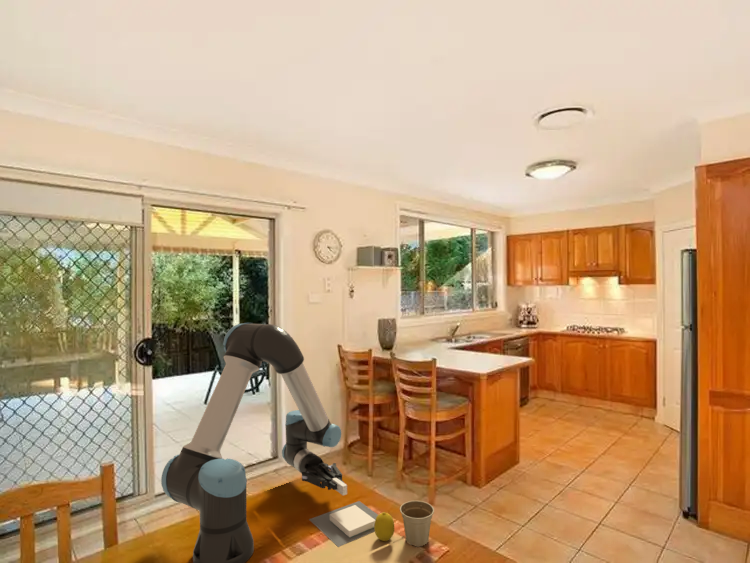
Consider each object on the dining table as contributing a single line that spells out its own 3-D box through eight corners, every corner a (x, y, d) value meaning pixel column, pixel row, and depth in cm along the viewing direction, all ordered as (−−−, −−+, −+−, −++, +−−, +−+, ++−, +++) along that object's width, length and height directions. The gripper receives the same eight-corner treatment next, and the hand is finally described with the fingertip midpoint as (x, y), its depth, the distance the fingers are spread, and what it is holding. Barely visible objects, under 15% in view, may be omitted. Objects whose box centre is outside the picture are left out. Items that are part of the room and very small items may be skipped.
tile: (329, 521, 129) (349, 538, 120) (329, 514, 129) (349, 531, 120) (355, 511, 134) (375, 527, 125) (355, 504, 134) (375, 520, 125)
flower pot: (441, 540, 120) (441, 509, 120) (419, 555, 113) (418, 522, 113) (415, 526, 127) (415, 497, 127) (393, 540, 120) (392, 509, 120)
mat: (338, 549, 116) (338, 546, 116) (309, 521, 130) (309, 519, 130) (391, 526, 127) (391, 524, 127) (359, 502, 141) (359, 500, 141)
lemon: (392, 548, 116) (392, 518, 116) (372, 546, 117) (372, 516, 117) (396, 536, 122) (395, 508, 122) (376, 534, 123) (376, 506, 123)
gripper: (325, 470, 154) (363, 496, 134) (291, 480, 146) (326, 509, 127) (325, 448, 154) (362, 472, 134) (291, 458, 146) (325, 483, 127)
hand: (344, 490), depth 131 cm, fingers closed
